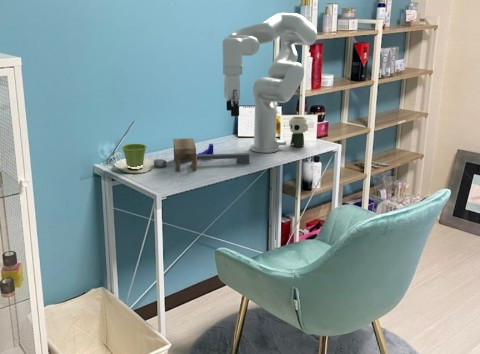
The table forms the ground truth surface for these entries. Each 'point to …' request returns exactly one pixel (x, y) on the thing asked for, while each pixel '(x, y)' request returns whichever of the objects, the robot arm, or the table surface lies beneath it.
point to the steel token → (159, 163)
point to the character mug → (298, 130)
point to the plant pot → (134, 154)
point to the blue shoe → (208, 151)
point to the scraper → (226, 157)
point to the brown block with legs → (184, 152)
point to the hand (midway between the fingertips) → (232, 113)
